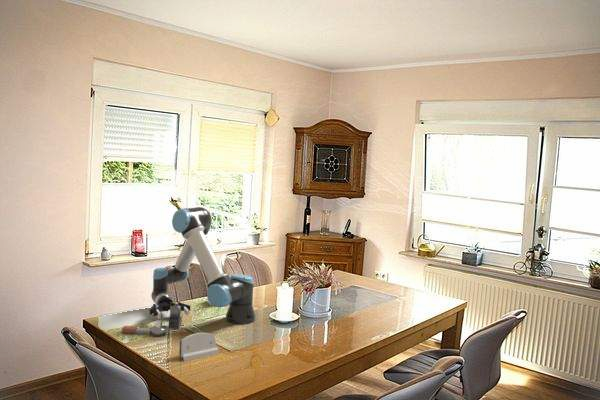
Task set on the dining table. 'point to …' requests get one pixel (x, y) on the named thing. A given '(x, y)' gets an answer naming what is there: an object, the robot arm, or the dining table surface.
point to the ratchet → (146, 330)
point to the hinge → (197, 346)
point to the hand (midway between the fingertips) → (174, 314)
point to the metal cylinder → (175, 317)
